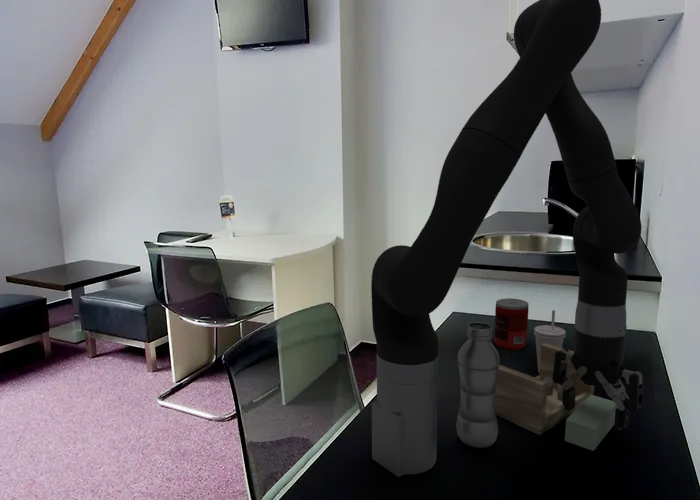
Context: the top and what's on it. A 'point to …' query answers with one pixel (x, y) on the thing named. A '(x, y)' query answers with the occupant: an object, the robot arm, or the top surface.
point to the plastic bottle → (478, 387)
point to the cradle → (536, 394)
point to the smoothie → (548, 337)
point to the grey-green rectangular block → (590, 422)
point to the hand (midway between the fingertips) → (593, 418)
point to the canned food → (511, 323)
